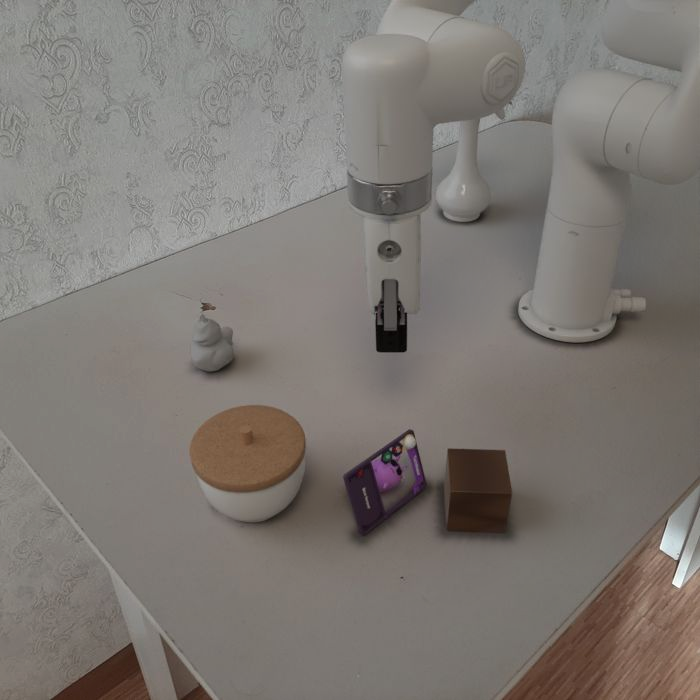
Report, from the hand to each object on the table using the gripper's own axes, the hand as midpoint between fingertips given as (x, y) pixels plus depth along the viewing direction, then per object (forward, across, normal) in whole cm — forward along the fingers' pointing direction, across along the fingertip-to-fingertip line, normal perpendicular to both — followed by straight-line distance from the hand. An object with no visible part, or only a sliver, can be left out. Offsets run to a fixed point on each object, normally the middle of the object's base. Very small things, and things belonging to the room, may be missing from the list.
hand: (391, 347), depth 75 cm
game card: (+9, -13, +1) cm, 16 cm away
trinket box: (+9, -13, +14) cm, 21 cm away
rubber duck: (+9, +8, +22) cm, 25 cm away
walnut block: (+9, -14, -8) cm, 18 cm away
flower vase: (+11, +51, -11) cm, 54 cm away
